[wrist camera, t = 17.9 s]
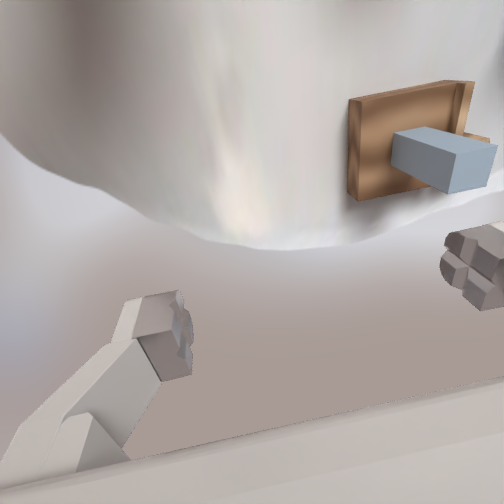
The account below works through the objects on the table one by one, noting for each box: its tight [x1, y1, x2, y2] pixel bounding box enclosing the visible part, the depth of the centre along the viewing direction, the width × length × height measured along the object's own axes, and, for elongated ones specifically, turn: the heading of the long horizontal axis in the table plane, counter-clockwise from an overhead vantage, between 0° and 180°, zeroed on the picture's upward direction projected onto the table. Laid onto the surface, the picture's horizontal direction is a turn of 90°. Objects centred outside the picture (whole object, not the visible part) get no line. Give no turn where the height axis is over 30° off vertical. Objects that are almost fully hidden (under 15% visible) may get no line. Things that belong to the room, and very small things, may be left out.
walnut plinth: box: [347, 80, 475, 201], centre depth 43 cm, size 14×14×6 cm
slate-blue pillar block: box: [391, 127, 498, 194], centre depth 37 cm, size 4×4×12 cm
